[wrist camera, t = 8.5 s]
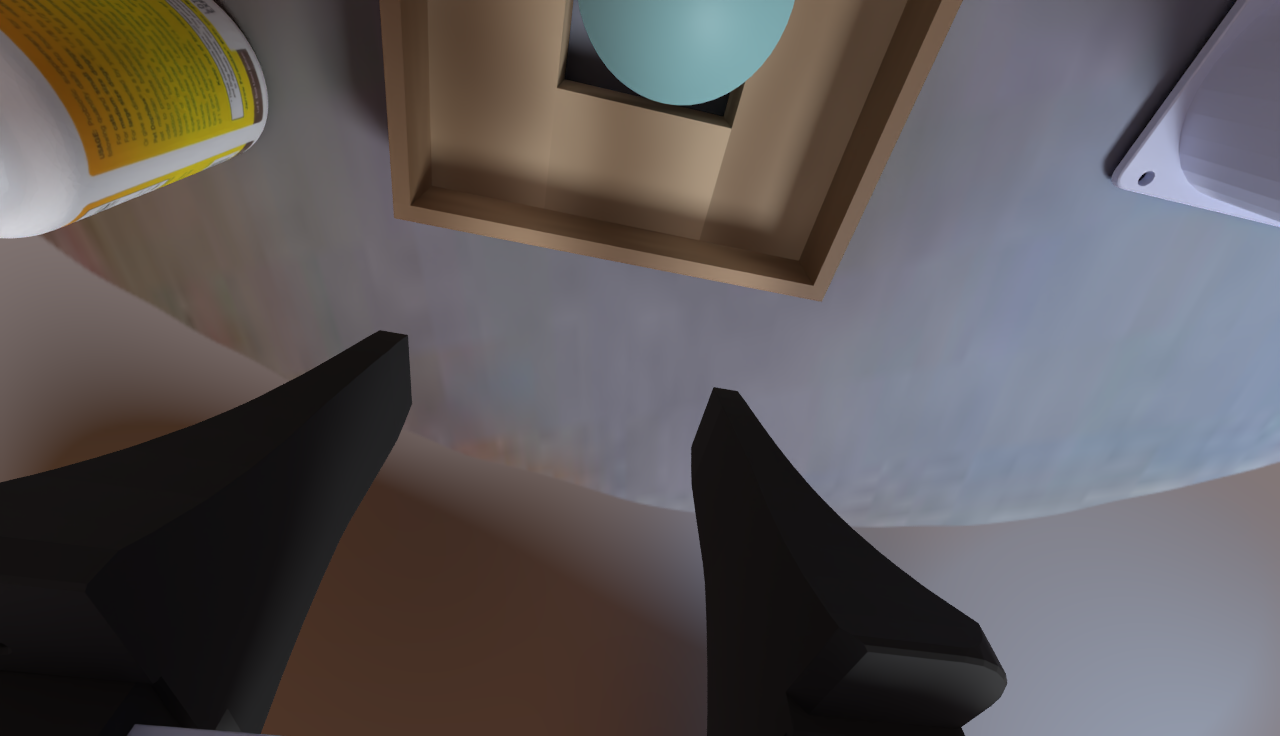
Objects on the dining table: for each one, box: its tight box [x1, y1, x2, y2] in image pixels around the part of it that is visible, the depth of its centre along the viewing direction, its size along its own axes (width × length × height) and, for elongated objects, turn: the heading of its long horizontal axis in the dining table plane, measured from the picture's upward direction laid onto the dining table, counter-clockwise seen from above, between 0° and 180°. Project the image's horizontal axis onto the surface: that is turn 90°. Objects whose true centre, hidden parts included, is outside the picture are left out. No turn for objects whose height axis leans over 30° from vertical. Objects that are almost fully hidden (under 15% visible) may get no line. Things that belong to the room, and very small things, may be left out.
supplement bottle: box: [0, 0, 268, 238], centre depth 13 cm, size 6×6×10 cm
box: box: [379, 0, 963, 302], centre depth 14 cm, size 14×14×4 cm
